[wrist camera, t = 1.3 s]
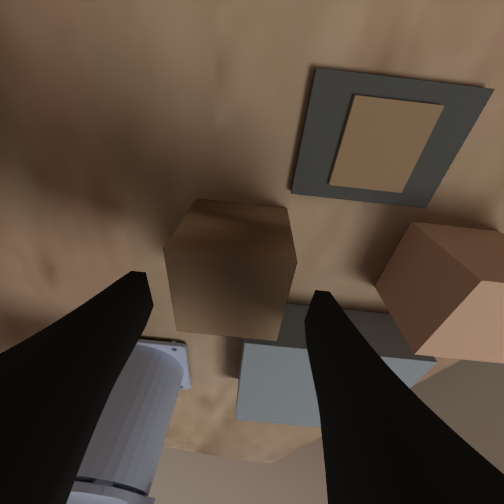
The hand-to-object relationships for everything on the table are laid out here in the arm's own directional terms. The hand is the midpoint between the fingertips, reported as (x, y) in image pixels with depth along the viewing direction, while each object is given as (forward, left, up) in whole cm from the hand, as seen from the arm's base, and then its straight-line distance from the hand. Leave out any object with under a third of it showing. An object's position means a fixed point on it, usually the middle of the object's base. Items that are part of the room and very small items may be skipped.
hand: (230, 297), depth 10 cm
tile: (+6, +6, -5) cm, 10 cm away
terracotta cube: (+12, 0, -5) cm, 13 cm away
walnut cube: (0, 0, -5) cm, 5 cm away
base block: (+7, -11, -5) cm, 14 cm away
